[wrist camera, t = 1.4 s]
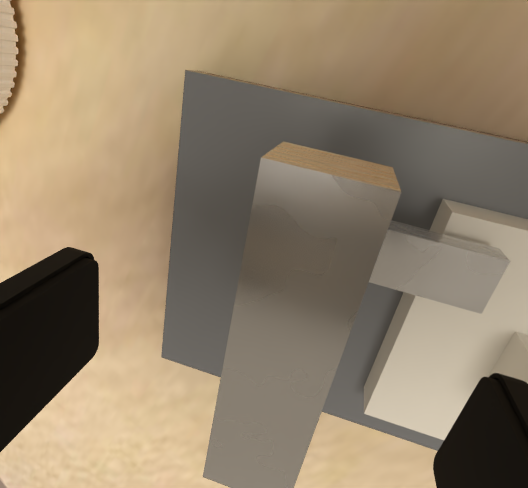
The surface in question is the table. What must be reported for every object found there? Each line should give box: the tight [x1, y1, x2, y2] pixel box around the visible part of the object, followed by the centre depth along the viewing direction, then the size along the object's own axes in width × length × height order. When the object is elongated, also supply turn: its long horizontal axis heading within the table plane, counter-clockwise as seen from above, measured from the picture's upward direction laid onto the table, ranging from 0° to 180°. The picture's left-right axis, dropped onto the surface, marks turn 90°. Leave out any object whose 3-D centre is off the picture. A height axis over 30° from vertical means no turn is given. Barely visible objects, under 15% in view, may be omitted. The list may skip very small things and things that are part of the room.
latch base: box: [162, 70, 528, 451], centre depth 20 cm, size 26×18×2 cm
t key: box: [203, 141, 510, 488], centre depth 13 cm, size 8×9×11 cm
